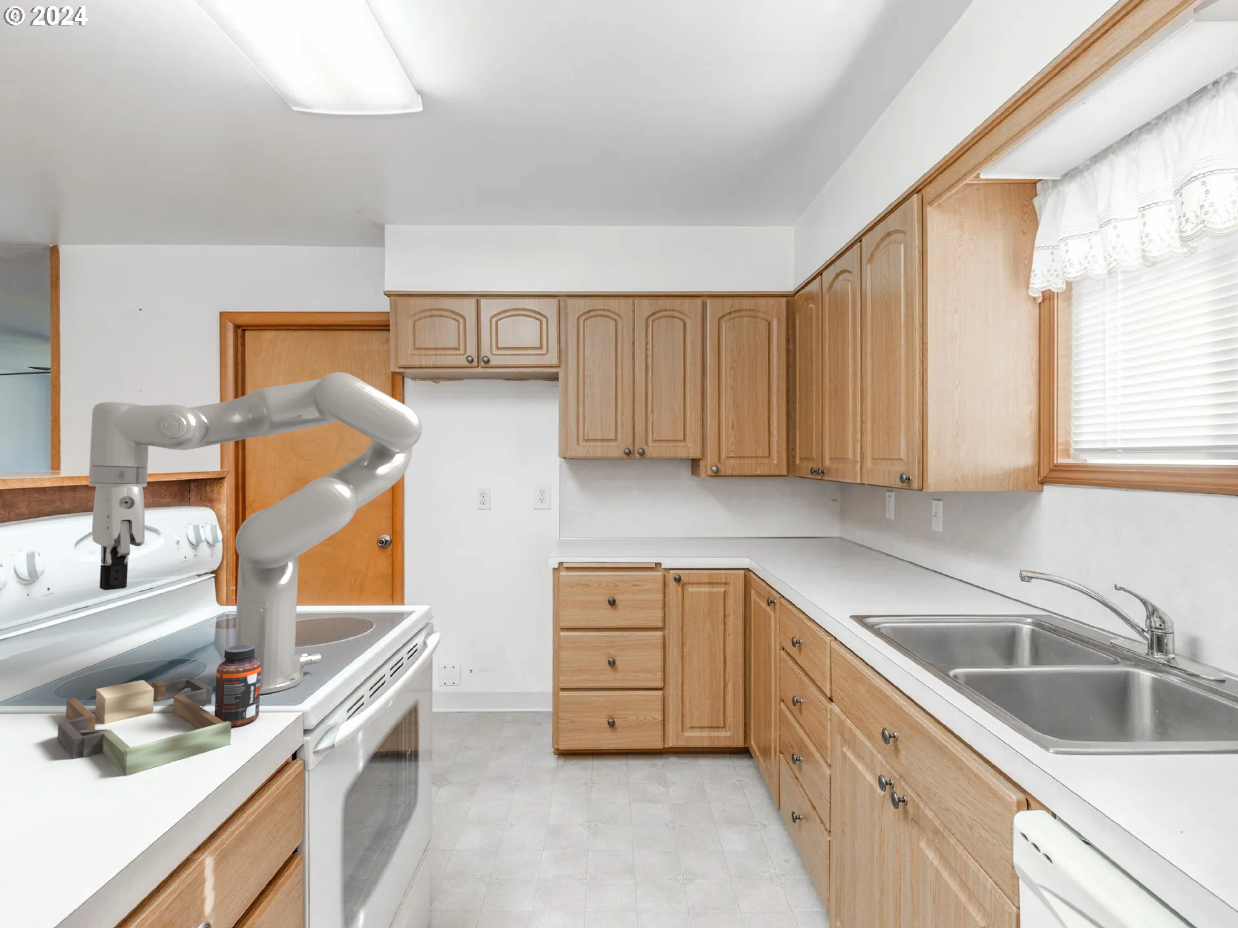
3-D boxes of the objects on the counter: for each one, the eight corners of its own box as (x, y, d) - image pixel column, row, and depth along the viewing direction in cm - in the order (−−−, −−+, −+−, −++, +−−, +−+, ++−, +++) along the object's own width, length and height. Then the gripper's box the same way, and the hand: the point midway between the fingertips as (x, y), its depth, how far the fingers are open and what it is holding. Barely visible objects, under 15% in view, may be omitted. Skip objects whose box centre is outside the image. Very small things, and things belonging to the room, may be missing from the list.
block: (142, 704, 102) (143, 679, 102) (152, 714, 98) (153, 688, 98) (95, 714, 98) (96, 688, 98) (104, 725, 94) (105, 698, 94)
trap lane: (187, 688, 109) (188, 671, 109) (262, 734, 92) (262, 714, 92) (39, 721, 94) (40, 701, 94) (95, 784, 76) (97, 759, 76)
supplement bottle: (263, 721, 96) (266, 648, 96) (219, 732, 92) (222, 655, 92) (253, 710, 100) (256, 640, 101) (210, 719, 96) (212, 646, 96)
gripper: (161, 479, 101) (156, 592, 101) (131, 476, 110) (126, 580, 110) (103, 478, 95) (97, 598, 95) (76, 475, 104) (71, 585, 104)
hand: (113, 588), depth 103 cm, fingers closed
